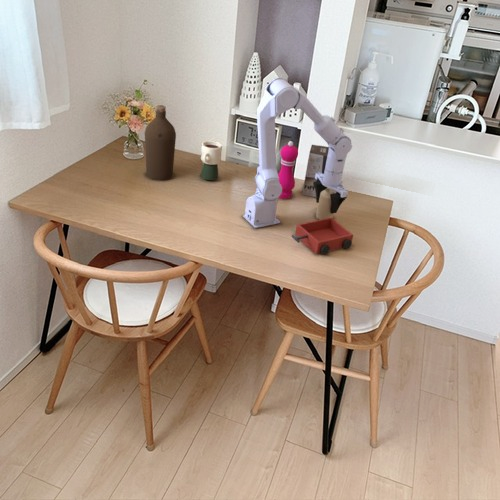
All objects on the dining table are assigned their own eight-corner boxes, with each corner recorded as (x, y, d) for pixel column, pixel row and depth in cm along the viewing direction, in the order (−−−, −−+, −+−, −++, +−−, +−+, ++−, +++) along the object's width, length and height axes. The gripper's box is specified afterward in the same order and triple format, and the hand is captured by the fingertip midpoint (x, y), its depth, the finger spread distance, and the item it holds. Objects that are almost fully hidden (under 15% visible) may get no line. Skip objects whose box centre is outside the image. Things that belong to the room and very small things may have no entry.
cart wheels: (305, 259, 154) (307, 249, 152) (281, 236, 164) (282, 226, 162) (350, 248, 162) (353, 238, 160) (324, 226, 172) (326, 217, 170)
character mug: (207, 170, 198) (209, 137, 191) (224, 175, 196) (227, 142, 189) (193, 181, 190) (195, 146, 183) (211, 186, 188) (214, 151, 181)
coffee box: (319, 198, 189) (327, 156, 180) (301, 195, 189) (309, 152, 181) (321, 187, 196) (329, 146, 188) (304, 184, 197) (311, 143, 188)
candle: (335, 218, 177) (341, 191, 172) (325, 223, 174) (331, 195, 168) (322, 211, 180) (327, 185, 175) (312, 216, 177) (317, 189, 171)
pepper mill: (269, 196, 186) (277, 142, 175) (276, 188, 192) (284, 135, 181) (289, 201, 184) (298, 147, 173) (295, 193, 190) (304, 140, 179)
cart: (316, 254, 157) (318, 242, 155) (295, 235, 165) (297, 224, 163) (350, 245, 163) (353, 234, 161) (328, 228, 171) (331, 217, 169)
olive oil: (180, 178, 191) (182, 109, 177) (153, 183, 185) (154, 113, 171) (165, 166, 197) (166, 100, 184) (139, 171, 191) (138, 103, 178)
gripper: (358, 177, 165) (349, 215, 172) (330, 159, 175) (322, 195, 182) (340, 180, 161) (332, 219, 169) (312, 161, 171) (306, 199, 179)
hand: (326, 207), depth 175 cm, fingers open, 7 cm apart
